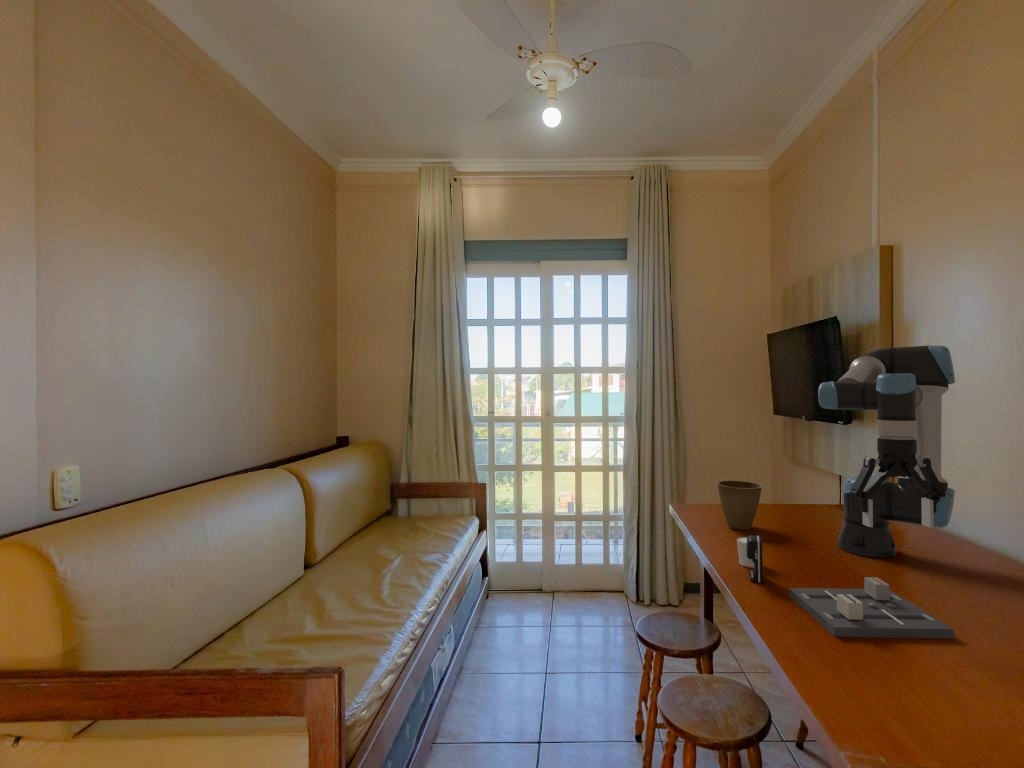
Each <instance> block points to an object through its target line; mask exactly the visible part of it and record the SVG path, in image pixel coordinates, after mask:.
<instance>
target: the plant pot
mask: <svg viewBox="0 0 1024 768" xmlns="http://www.w3.org/2000/svg"><path fill="white" fill-rule="evenodd" d="M762 487H763V486H762V485H761V484H760V483H756V482H752V481H751V482H750V481H745V480H721V481H718V482H717V491H718V496H719V502H720V505H721V509H722V511H723V516H724V519H725V521H726V524H727V526H728V527H729V528H730V529H733V530H739V531H748V530H750V529H751V528H752V526H753V523H754V520H755V518H756V516H757V515H756V514H757V512H758V511H757V510H758V509H759V508H758V507H759V503H760V501H761V500H760V499H761V494H762Z"/></svg>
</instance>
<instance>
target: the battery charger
mask: <svg viewBox="0 0 1024 768" xmlns="http://www.w3.org/2000/svg"><path fill="white" fill-rule="evenodd" d="M746 537H747V546H746V552H747V558H748V559H752V562H754V564H755V565H754V567H752V570H751V571H749V580H750V581H751V582H754V583H759V584H763V582H764V573H763V570H764V569H763V567H764V566H763V565H764V564H763V563H764V562H763V561H764V559H763V540H762V536H761V535H753V534H751V535H750V534H749V535H748V536H746Z"/></svg>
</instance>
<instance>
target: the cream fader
mask: <svg viewBox="0 0 1024 768" xmlns="http://www.w3.org/2000/svg"><path fill="white" fill-rule="evenodd" d="M837 611H839V612H840V613H841V614H842V615H844V616H845V617H846V618H847V619H853V620H863V603H862V602H860V601H859V600H858V599H856V598H855V597H853V596H852V595H851V594H845V593H843V594H837Z"/></svg>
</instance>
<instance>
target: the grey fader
mask: <svg viewBox="0 0 1024 768" xmlns="http://www.w3.org/2000/svg"><path fill="white" fill-rule="evenodd" d="M863 587H864V588H863V589H864V592H865V593H867V594H868V595H870V596H871V597H873V598H874V599H876V600H890V599H889V590H890V584H889V583H887V582H885V581H884V580H882V579H881V578H879V577H876V576H875V577H873V576H870V577H869V576H867V577H864V578H863Z"/></svg>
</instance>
